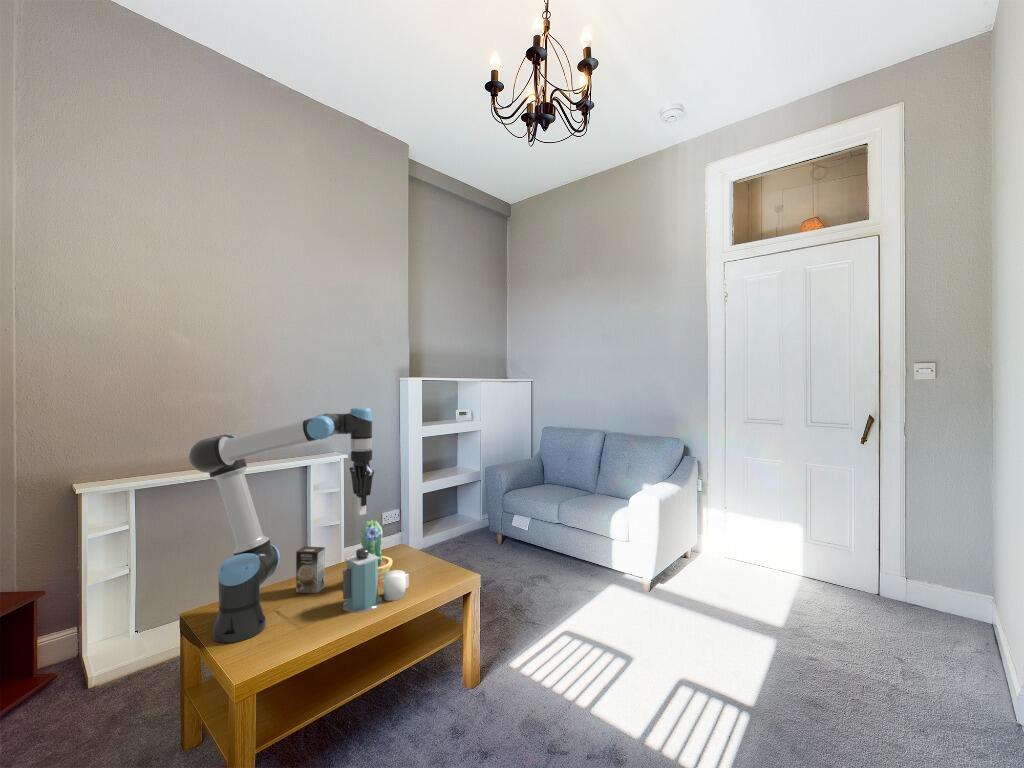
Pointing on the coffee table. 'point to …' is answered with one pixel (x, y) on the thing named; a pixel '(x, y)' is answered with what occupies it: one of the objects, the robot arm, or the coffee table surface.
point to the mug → (395, 585)
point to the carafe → (361, 582)
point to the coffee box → (310, 569)
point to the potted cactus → (375, 546)
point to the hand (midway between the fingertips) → (361, 514)
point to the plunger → (362, 553)
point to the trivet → (363, 609)
